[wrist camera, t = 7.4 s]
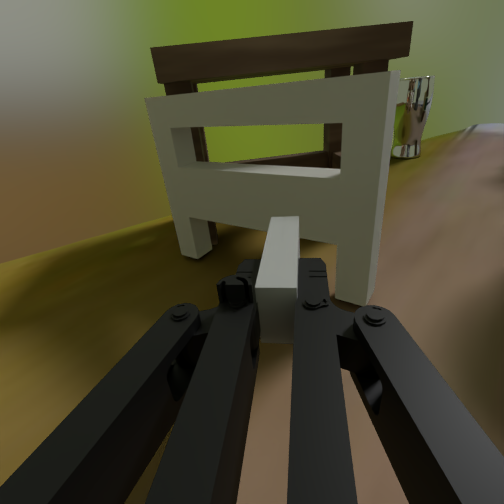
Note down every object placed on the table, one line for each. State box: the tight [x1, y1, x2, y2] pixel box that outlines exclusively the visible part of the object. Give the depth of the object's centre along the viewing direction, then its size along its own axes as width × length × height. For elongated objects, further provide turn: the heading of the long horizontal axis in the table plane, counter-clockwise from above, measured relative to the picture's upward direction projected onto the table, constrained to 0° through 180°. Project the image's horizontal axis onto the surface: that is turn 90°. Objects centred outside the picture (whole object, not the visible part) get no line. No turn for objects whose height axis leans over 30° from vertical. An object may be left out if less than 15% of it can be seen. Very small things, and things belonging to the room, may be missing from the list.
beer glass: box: [390, 76, 435, 159], centre depth 63 cm, size 7×7×15 cm
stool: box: [150, 21, 413, 245], centre depth 36 cm, size 16×22×20 cm
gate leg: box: [145, 70, 400, 306], centre depth 26 cm, size 2×20×16 cm, turn 56°
